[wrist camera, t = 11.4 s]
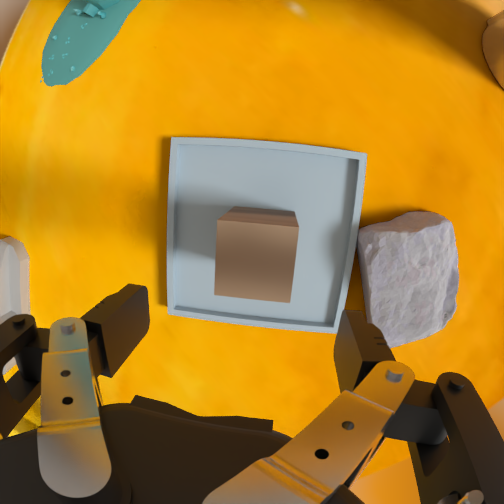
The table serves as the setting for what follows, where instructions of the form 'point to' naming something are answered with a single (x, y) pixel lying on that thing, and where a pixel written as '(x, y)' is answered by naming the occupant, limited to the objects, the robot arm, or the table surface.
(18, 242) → the sloped support bracket
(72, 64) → the diorama
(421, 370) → the table surface
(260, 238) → the walnut block
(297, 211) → the dish
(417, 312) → the stone block
